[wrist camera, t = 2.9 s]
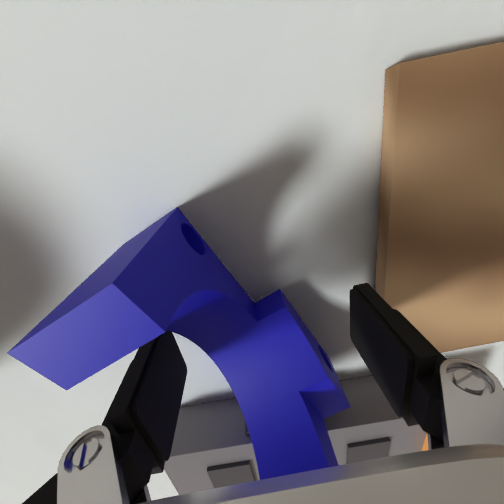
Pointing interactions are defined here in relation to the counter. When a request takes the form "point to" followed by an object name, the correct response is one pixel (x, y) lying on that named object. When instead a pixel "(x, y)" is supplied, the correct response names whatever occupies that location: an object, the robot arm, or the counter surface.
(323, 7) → the counter surface
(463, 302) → the wooden board
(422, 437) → the power strip
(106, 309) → the cable clip
